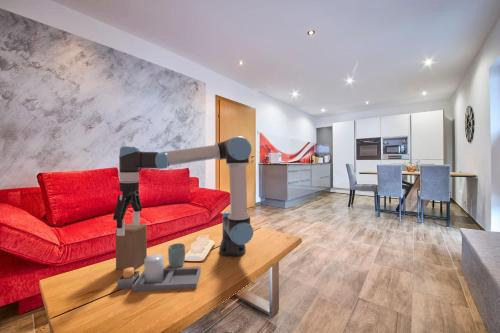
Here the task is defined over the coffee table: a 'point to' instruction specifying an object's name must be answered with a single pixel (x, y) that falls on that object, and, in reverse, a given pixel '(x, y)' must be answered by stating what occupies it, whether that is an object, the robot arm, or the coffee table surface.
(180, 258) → the cup
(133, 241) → the wooden block
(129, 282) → the button housing
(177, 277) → the grey divided tray
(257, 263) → the coffee table surface
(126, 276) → the button
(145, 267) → the billet
